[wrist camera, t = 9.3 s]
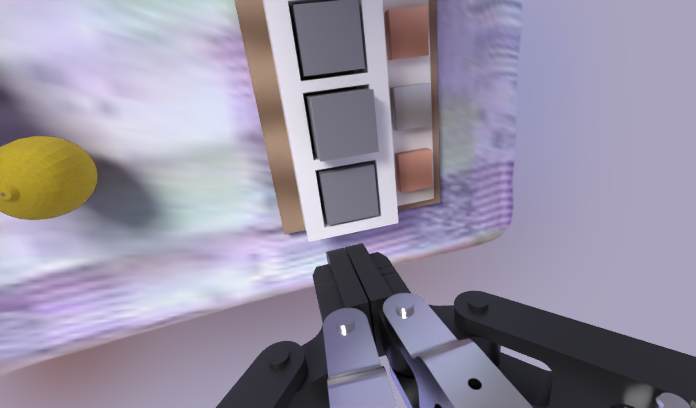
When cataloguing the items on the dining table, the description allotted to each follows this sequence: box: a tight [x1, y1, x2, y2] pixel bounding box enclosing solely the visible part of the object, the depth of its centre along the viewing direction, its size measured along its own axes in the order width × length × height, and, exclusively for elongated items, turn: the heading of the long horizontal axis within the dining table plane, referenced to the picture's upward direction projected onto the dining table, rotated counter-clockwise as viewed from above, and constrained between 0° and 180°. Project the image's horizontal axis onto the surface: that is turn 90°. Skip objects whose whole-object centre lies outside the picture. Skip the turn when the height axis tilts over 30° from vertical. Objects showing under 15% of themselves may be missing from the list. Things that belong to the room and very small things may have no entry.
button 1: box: [290, 0, 365, 77], centre depth 25 cm, size 4×4×4 cm
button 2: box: [305, 88, 379, 162], centre depth 25 cm, size 4×4×4 cm
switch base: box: [235, 0, 440, 234], centre depth 29 cm, size 20×16×2 cm
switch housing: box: [263, 0, 398, 242], centre depth 27 cm, size 19×8×4 cm, turn 7°
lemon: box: [0, 136, 98, 220], centre depth 23 cm, size 6×6×8 cm
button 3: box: [315, 161, 379, 225], centre depth 29 cm, size 4×4×4 cm
